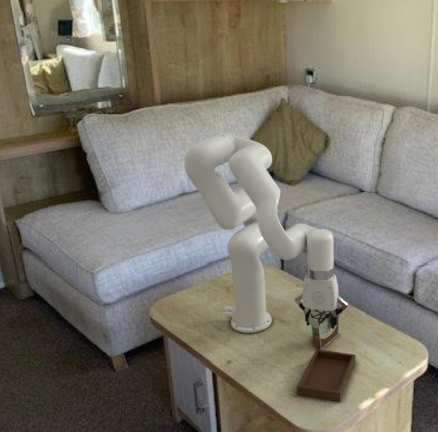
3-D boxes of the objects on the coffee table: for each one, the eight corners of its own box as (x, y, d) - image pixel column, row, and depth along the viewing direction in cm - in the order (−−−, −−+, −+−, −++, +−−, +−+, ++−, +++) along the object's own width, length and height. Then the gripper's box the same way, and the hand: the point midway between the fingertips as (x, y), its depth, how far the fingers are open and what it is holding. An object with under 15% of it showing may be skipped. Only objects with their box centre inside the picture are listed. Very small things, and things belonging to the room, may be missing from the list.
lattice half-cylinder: (324, 327, 194) (323, 299, 191) (340, 332, 191) (340, 304, 188) (300, 346, 184) (299, 316, 181) (318, 352, 181) (317, 322, 178)
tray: (297, 395, 163) (296, 386, 162) (316, 357, 179) (316, 349, 178) (340, 402, 161) (340, 393, 160) (355, 362, 177) (355, 354, 176)
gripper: (287, 274, 178) (289, 327, 184) (346, 280, 174) (346, 335, 181) (296, 262, 184) (297, 315, 191) (353, 269, 181) (352, 322, 188)
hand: (321, 324), depth 186 cm, fingers closed on lattice half-cylinder, 7 cm apart
